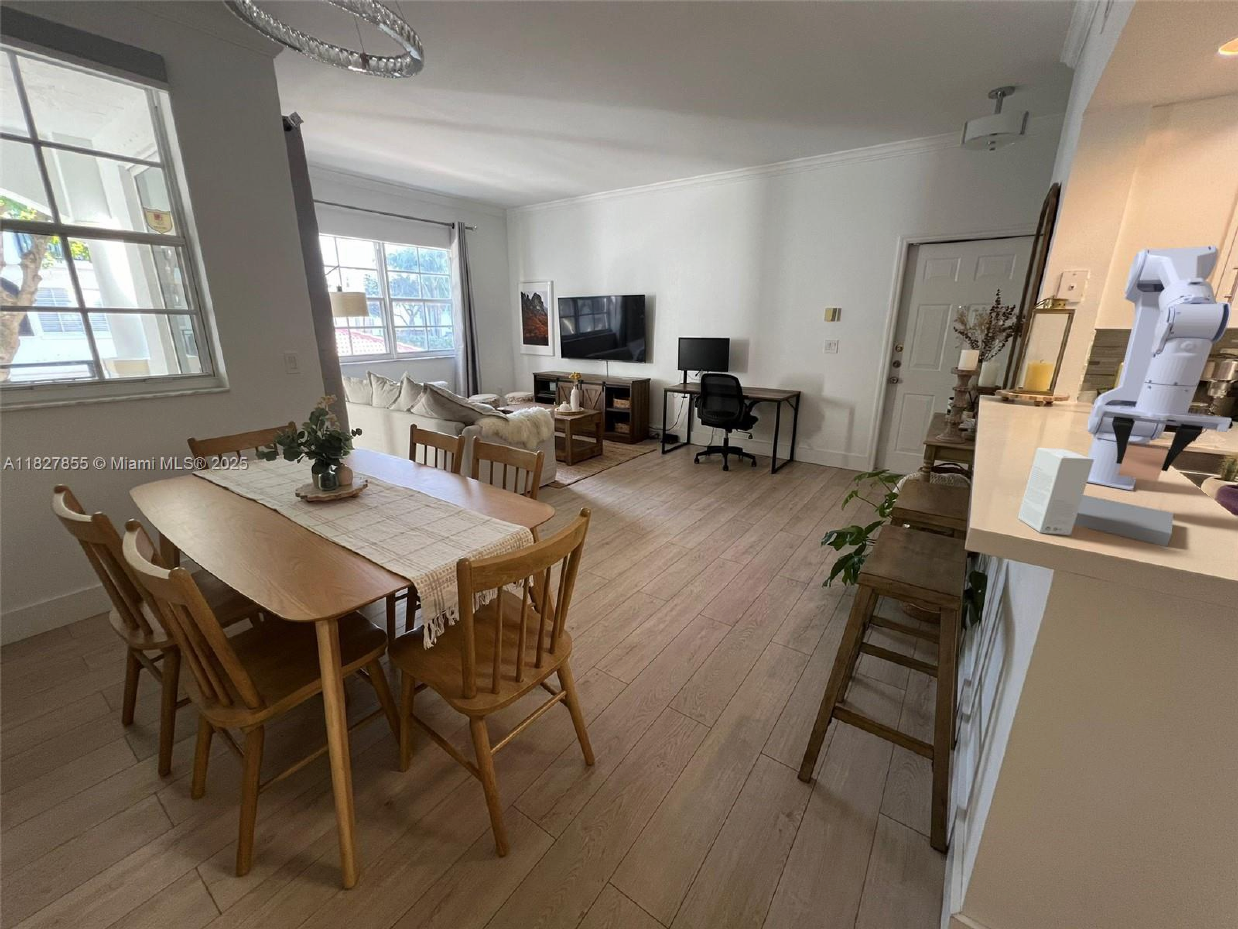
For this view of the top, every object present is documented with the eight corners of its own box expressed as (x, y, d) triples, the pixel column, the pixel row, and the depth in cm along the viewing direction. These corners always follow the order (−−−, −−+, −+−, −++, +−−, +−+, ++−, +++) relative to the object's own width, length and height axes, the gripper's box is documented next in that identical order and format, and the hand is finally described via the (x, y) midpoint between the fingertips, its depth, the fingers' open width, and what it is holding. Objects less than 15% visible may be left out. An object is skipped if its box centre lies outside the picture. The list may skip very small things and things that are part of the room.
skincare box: (1071, 536, 72) (1096, 459, 68) (1039, 533, 72) (1061, 457, 69) (1046, 520, 77) (1067, 448, 74) (1016, 518, 78) (1035, 446, 75)
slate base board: (1068, 503, 85) (1071, 492, 84) (1168, 524, 76) (1173, 512, 76) (1056, 520, 77) (1060, 508, 77) (1166, 546, 69) (1171, 533, 68)
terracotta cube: (1120, 469, 83) (1129, 441, 81) (1158, 475, 80) (1168, 446, 78) (1117, 474, 80) (1127, 445, 79) (1157, 481, 77) (1168, 451, 75)
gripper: (1103, 380, 78) (1078, 460, 82) (1245, 391, 68) (1209, 482, 72) (1107, 377, 83) (1084, 453, 87) (1241, 387, 72) (1208, 473, 76)
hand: (1141, 466), depth 79 cm, fingers closed on terracotta cube, 4 cm apart
